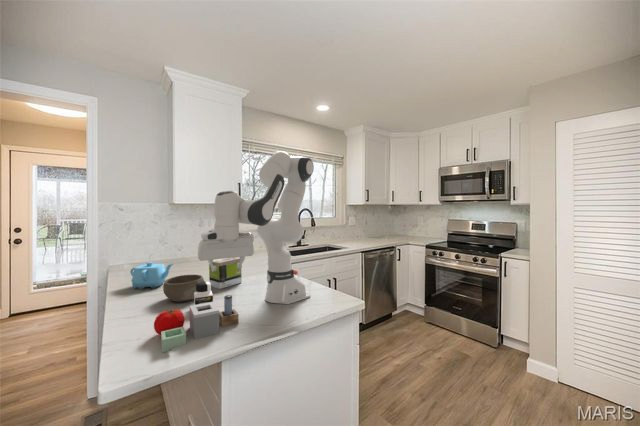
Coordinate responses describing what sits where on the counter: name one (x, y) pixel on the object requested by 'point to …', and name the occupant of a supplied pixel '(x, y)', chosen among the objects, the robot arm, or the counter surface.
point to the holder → (228, 318)
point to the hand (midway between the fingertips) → (226, 269)
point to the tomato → (169, 320)
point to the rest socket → (172, 338)
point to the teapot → (149, 275)
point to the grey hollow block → (204, 319)
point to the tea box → (225, 273)
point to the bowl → (181, 287)
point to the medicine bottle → (203, 293)
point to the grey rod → (227, 305)
